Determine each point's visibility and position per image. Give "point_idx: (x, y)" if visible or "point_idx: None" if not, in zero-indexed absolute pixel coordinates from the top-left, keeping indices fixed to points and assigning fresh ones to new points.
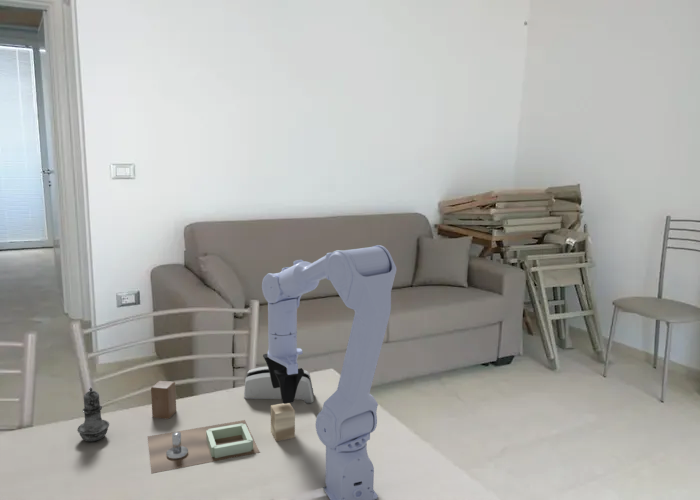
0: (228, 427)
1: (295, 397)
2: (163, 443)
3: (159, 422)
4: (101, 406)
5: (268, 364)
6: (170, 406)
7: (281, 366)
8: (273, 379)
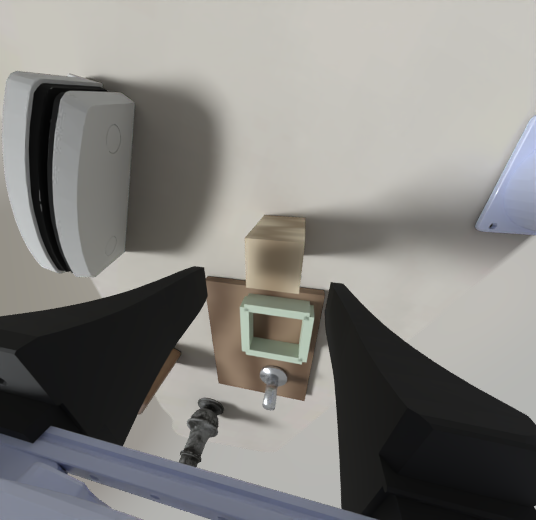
0: (247, 329)
1: (123, 151)
2: (241, 377)
3: (178, 358)
4: (186, 451)
5: (143, 398)
6: (163, 368)
7: (140, 330)
8: (189, 318)
